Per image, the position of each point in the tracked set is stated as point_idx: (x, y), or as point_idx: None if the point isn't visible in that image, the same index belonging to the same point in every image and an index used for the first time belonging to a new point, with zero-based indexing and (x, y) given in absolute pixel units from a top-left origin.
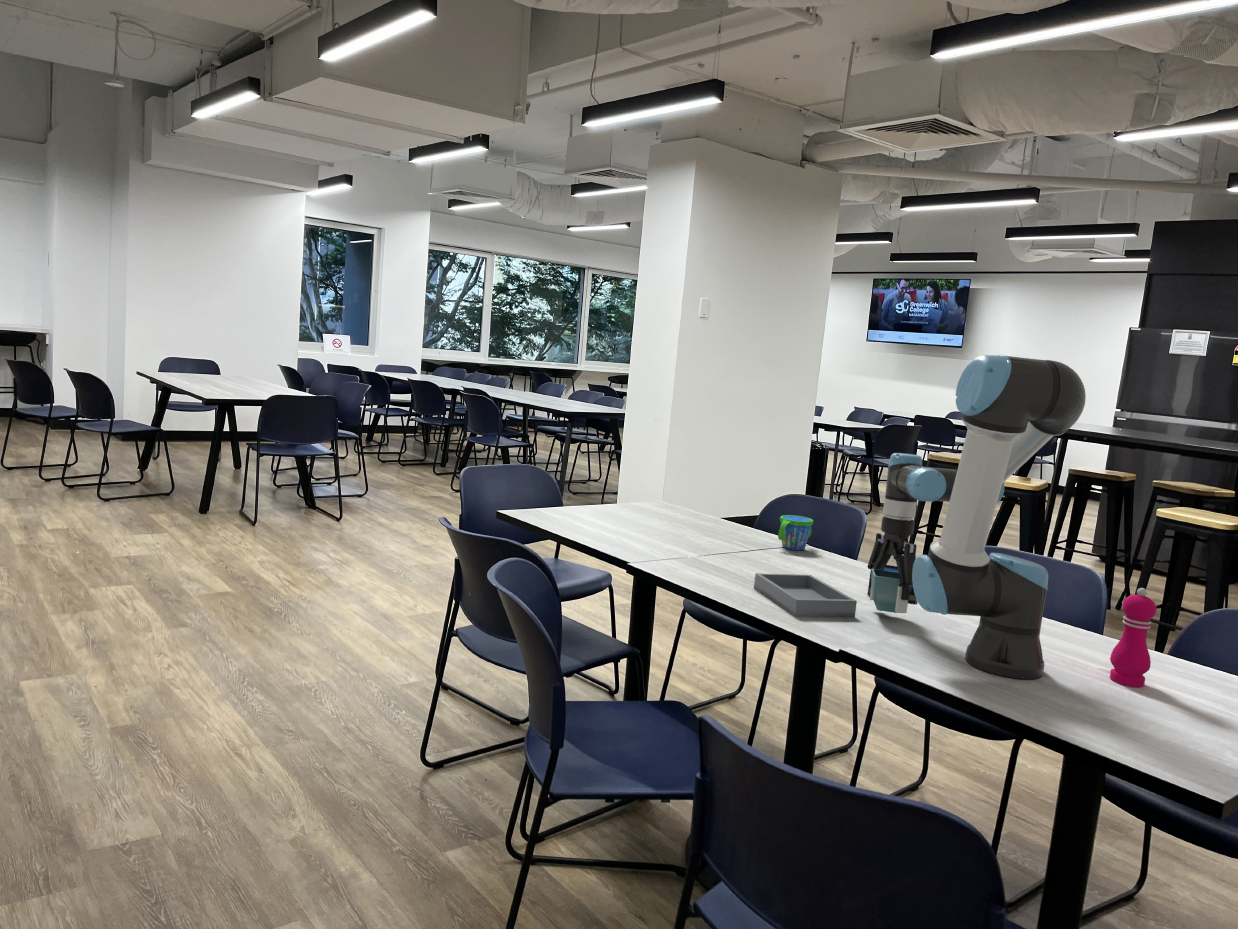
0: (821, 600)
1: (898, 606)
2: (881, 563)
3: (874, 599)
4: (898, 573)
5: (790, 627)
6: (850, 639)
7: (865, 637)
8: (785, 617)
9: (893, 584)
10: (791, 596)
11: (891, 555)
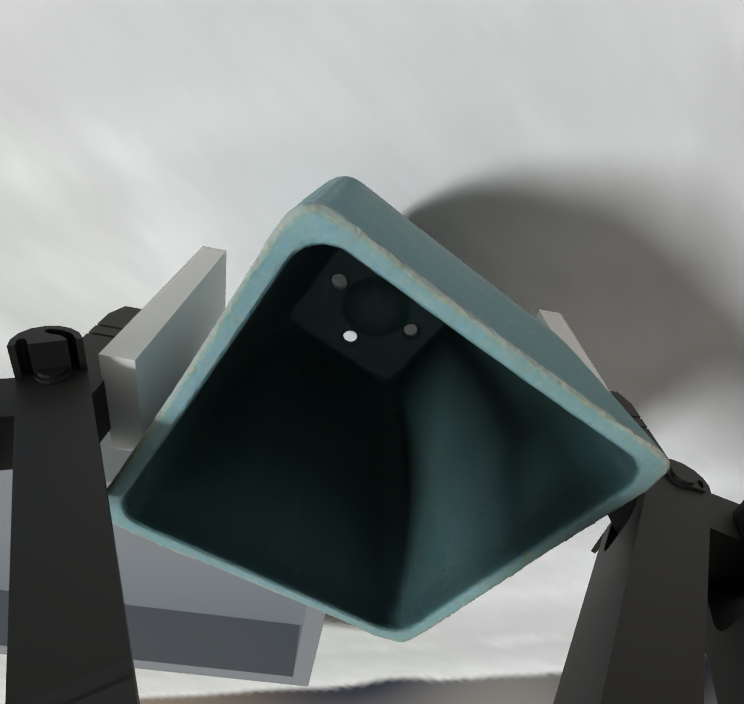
0: (321, 629)
1: None
2: (115, 546)
3: (389, 460)
4: (254, 311)
5: (418, 667)
6: (578, 602)
7: (588, 556)
8: (323, 640)
9: (506, 516)
10: (262, 681)
11: (132, 668)
